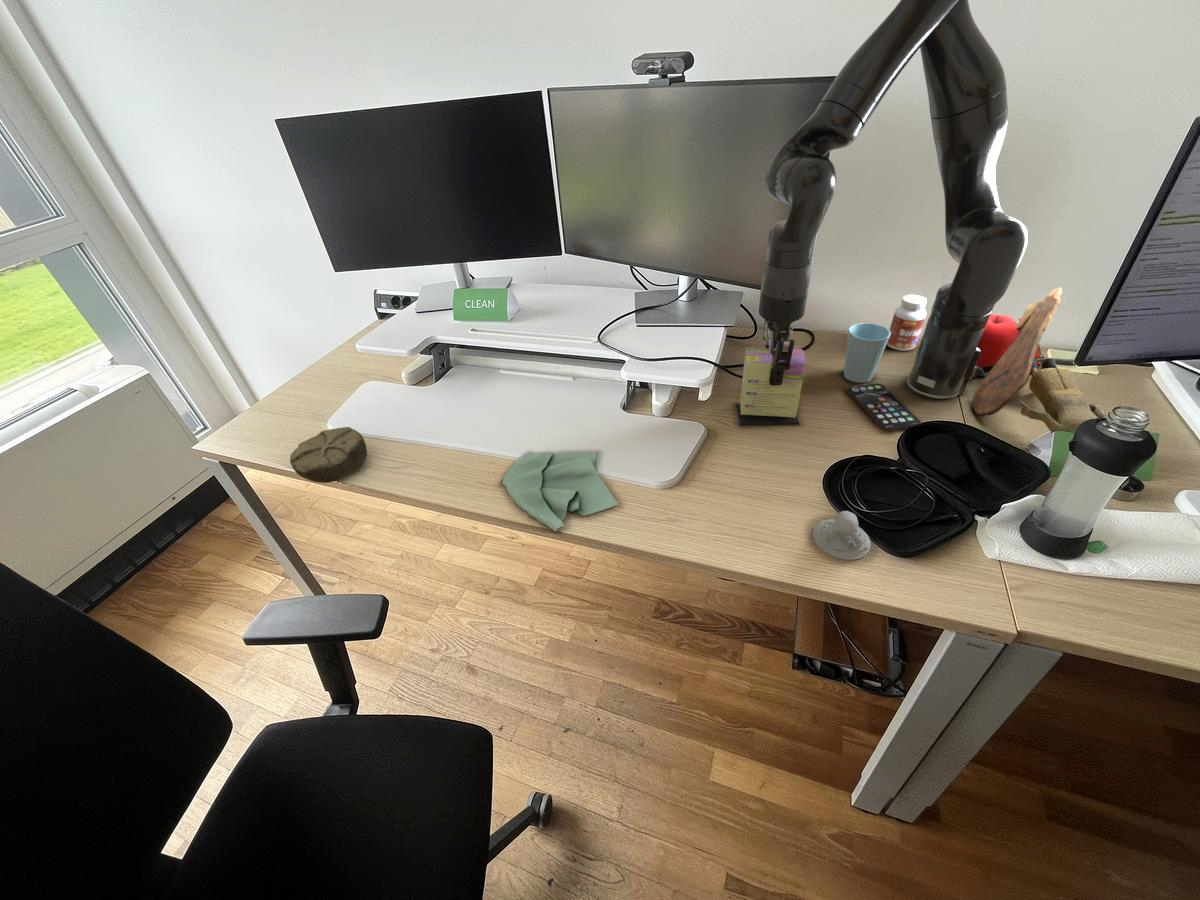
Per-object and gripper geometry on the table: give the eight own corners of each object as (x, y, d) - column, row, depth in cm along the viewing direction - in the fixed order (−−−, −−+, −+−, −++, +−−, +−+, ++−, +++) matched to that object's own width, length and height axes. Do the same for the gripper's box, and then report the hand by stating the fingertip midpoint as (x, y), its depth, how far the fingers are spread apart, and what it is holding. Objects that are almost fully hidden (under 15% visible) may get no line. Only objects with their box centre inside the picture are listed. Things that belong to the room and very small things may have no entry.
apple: (979, 348, 116) (998, 301, 109) (1017, 368, 109) (1040, 319, 102) (940, 357, 114) (958, 310, 108) (976, 378, 107) (997, 329, 100)
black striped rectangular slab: (791, 404, 106) (792, 401, 105) (799, 424, 100) (799, 422, 100) (735, 405, 107) (736, 402, 107) (740, 425, 102) (740, 423, 101)
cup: (870, 389, 107) (882, 343, 101) (832, 379, 112) (842, 334, 105) (883, 373, 112) (896, 328, 105) (846, 364, 116) (857, 319, 109)
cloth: (518, 448, 102) (516, 438, 100) (630, 454, 97) (629, 444, 96) (479, 526, 86) (476, 515, 85) (610, 537, 82) (609, 526, 80)
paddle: (956, 410, 100) (1029, 296, 106) (970, 421, 100) (1042, 307, 106) (993, 401, 92) (1070, 277, 97) (1008, 413, 92) (1084, 289, 97)
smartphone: (881, 382, 108) (923, 424, 96) (880, 385, 108) (922, 427, 96) (845, 387, 108) (884, 429, 96) (845, 389, 108) (883, 432, 96)
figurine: (993, 390, 104) (1050, 510, 84) (1012, 351, 97) (1078, 471, 77) (1061, 390, 101) (1136, 515, 81) (1085, 350, 94) (1173, 475, 74)
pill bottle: (894, 353, 118) (908, 306, 111) (880, 340, 123) (893, 294, 116) (921, 350, 118) (937, 302, 111) (906, 337, 123) (920, 291, 116)
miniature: (872, 527, 79) (880, 505, 76) (868, 566, 74) (877, 543, 71) (815, 514, 82) (821, 492, 79) (808, 550, 77) (814, 528, 74)
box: (794, 401, 104) (803, 347, 97) (796, 418, 100) (806, 363, 92) (739, 399, 106) (745, 346, 99) (739, 415, 102) (745, 361, 94)
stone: (373, 437, 99) (384, 459, 102) (339, 417, 106) (350, 438, 109) (307, 476, 91) (320, 498, 95) (276, 451, 99) (290, 473, 102)
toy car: (1046, 366, 109) (1026, 371, 111) (1038, 346, 111) (1020, 351, 113) (1038, 332, 101) (1018, 338, 103) (1031, 312, 104) (1011, 318, 106)
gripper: (755, 273, 94) (746, 357, 104) (768, 307, 83) (757, 396, 93) (798, 271, 93) (785, 355, 103) (818, 305, 82) (801, 396, 92)
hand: (772, 375), depth 98 cm, fingers closed on box, 6 cm apart
